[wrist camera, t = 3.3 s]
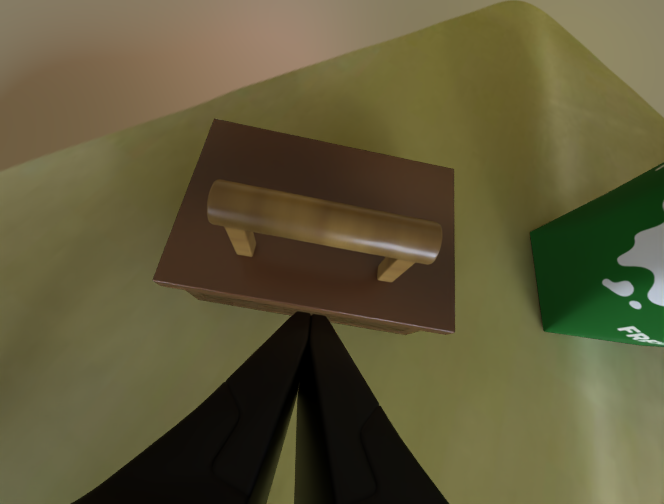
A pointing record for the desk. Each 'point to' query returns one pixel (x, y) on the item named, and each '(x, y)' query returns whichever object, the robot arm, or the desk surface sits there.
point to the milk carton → (606, 265)
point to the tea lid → (316, 229)
